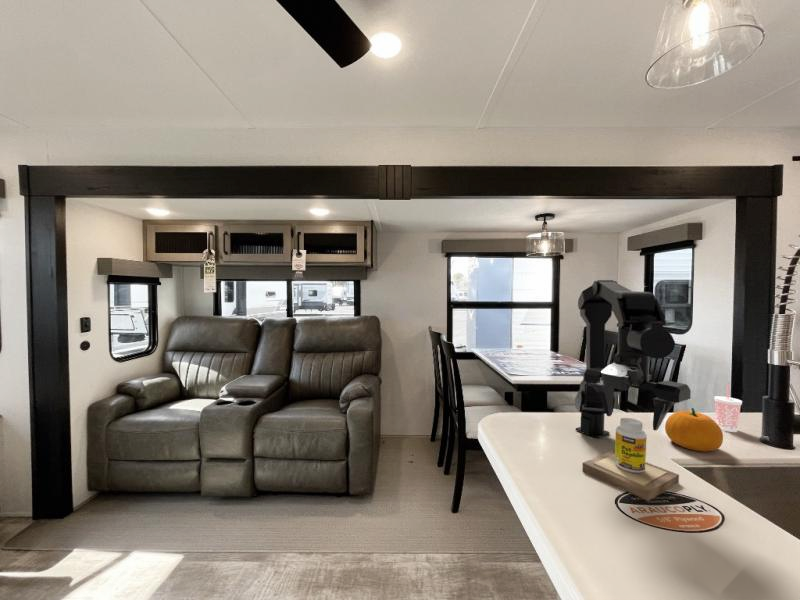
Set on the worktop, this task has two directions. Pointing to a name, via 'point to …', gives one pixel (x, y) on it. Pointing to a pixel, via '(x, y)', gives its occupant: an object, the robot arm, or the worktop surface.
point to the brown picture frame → (632, 476)
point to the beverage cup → (727, 412)
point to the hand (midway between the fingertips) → (631, 422)
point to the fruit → (694, 431)
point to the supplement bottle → (630, 445)
